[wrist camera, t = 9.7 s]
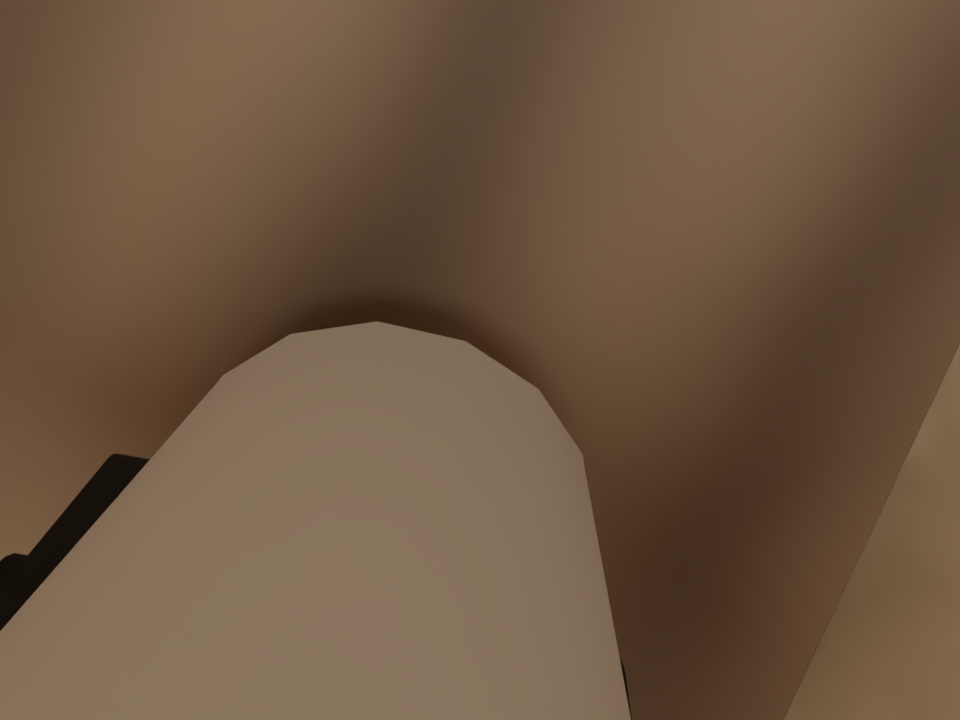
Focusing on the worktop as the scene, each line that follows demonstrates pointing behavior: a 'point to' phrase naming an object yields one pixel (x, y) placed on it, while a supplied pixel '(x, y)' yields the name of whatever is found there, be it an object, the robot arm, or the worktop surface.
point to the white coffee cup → (336, 554)
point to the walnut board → (513, 262)
